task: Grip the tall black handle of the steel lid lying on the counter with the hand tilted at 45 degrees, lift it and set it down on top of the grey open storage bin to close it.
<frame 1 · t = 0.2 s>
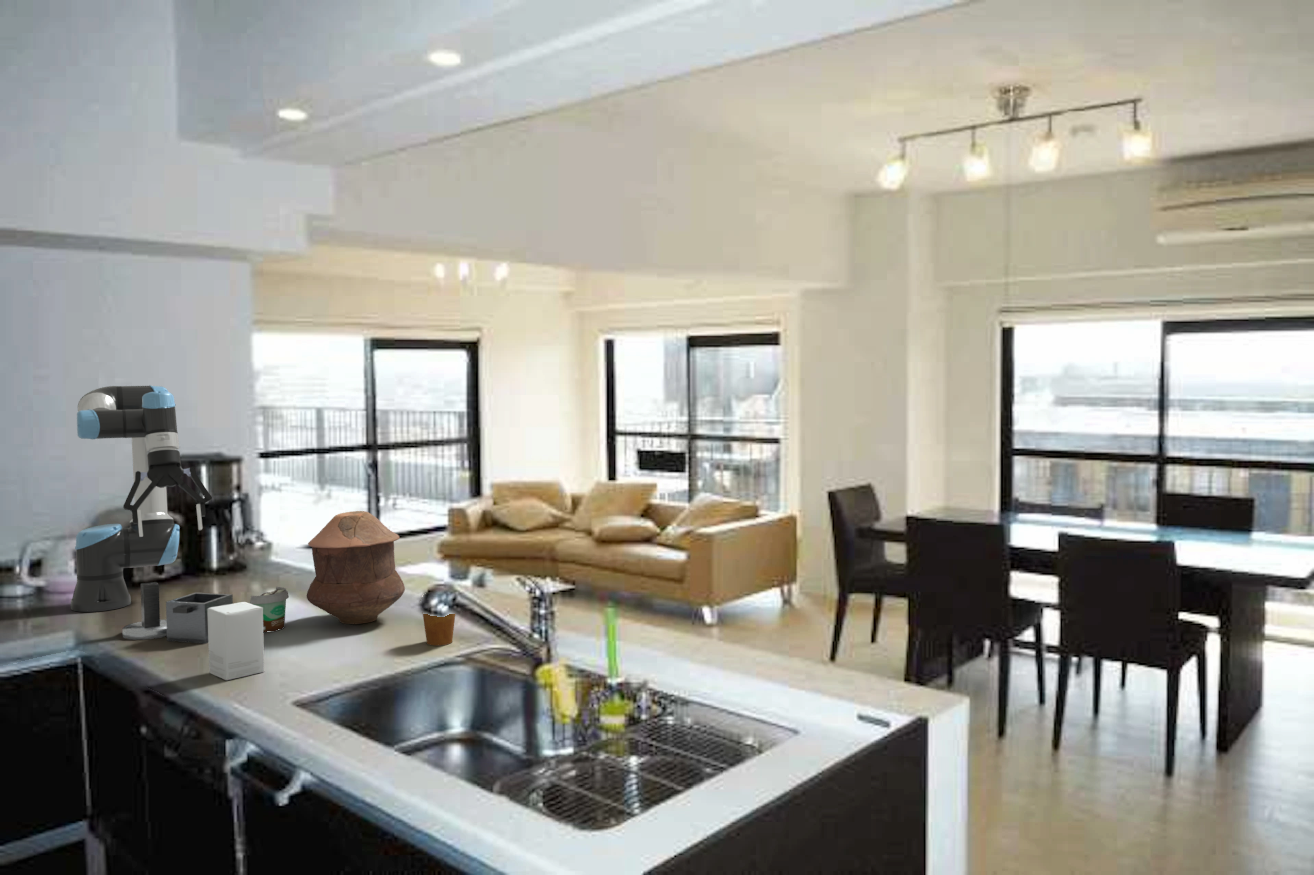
hand: (171, 533, 247), 27 cm above the worktop, tool pointing down, fingers open, 13 cm apart
disposable coffee cup: (439, 643, 244), on the worktop
food container: (275, 629, 257), on the worktop
grey open storage bin: (200, 636, 249), on the worktop
supplement box: (237, 673, 218), on the worktop
lid: (151, 633, 252), on the worktop
pottery vessel: (356, 621, 265), on the worktop
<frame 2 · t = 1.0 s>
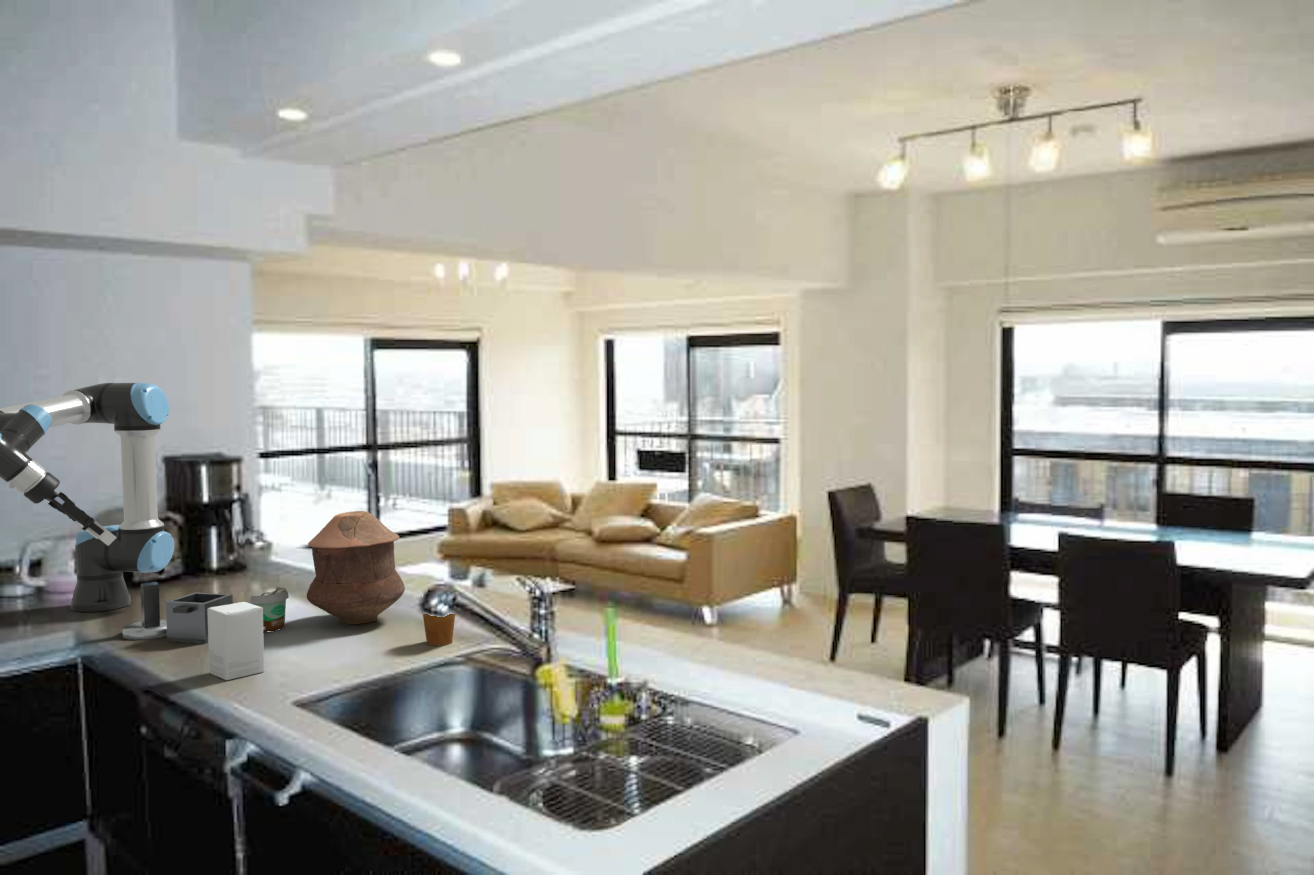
hand: (106, 538, 245), 26 cm above the worktop, tool tilted 45°, fingers open, 13 cm apart
nothing on the worktop moved.
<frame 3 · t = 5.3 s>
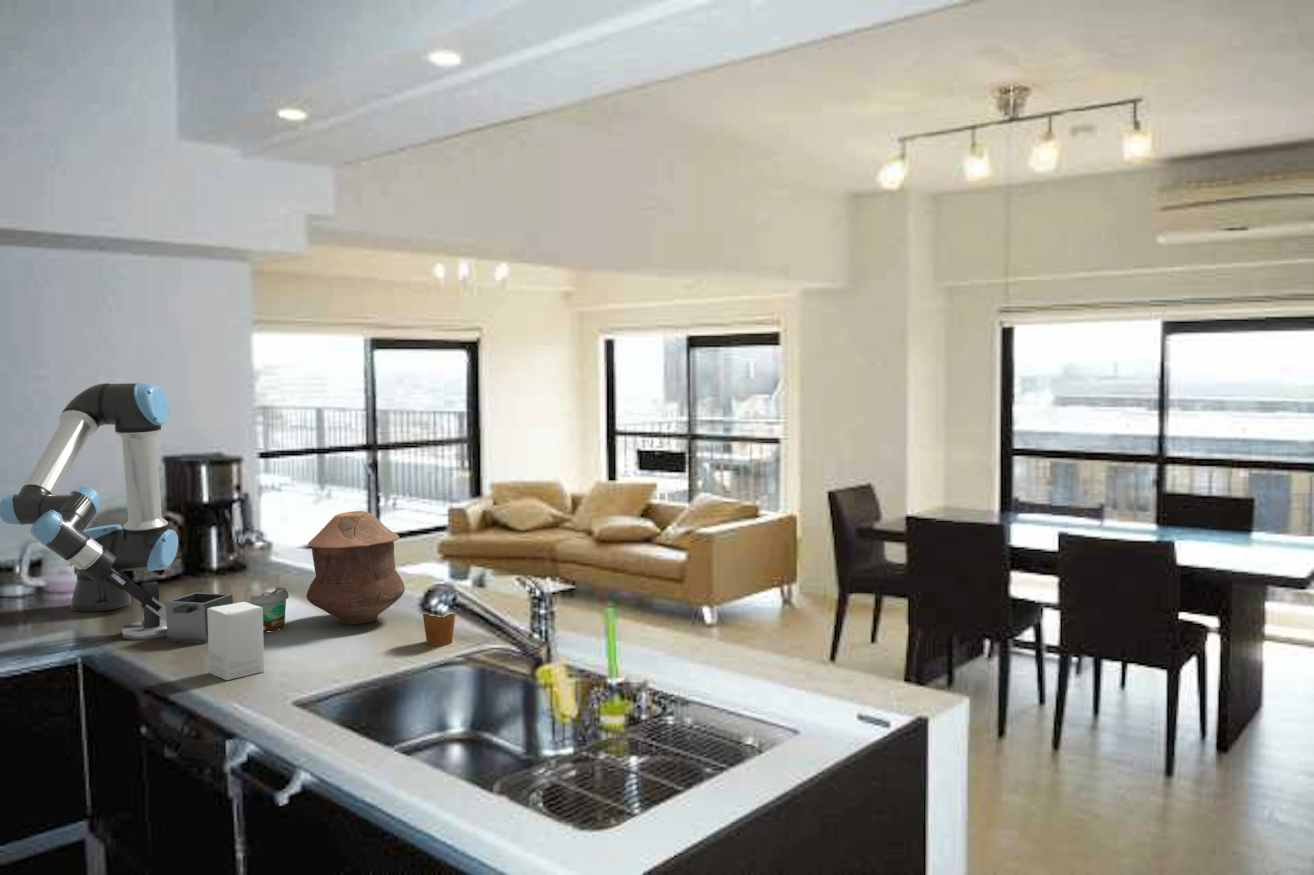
hand: (166, 614, 254), 4 cm above the worktop, tool tilted 45°, fingers closed on lid, 4 cm apart
lid: (151, 633, 252), on the worktop, touching gripper
everything else where it was.
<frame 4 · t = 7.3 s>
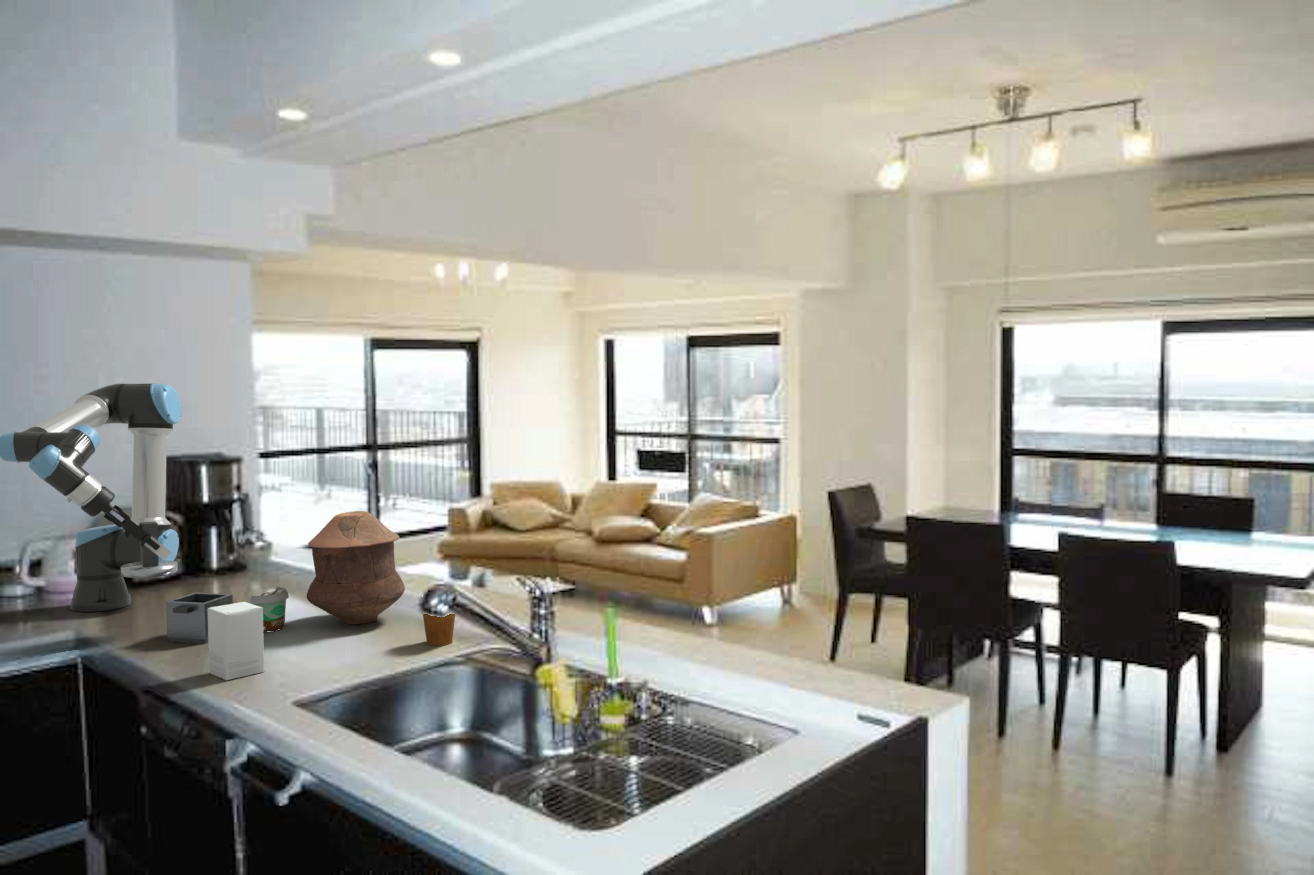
hand: (165, 554, 253), 20 cm above the worktop, tool tilted 45°, fingers closed on lid, 4 cm apart
lid: (149, 572, 251), point 16 cm above the worktop, touching gripper
everything else where it was.
when the fingers open (16 cm above the worktop, at t = 9.2 s): lid drops 1 cm, resting on grey open storage bin.
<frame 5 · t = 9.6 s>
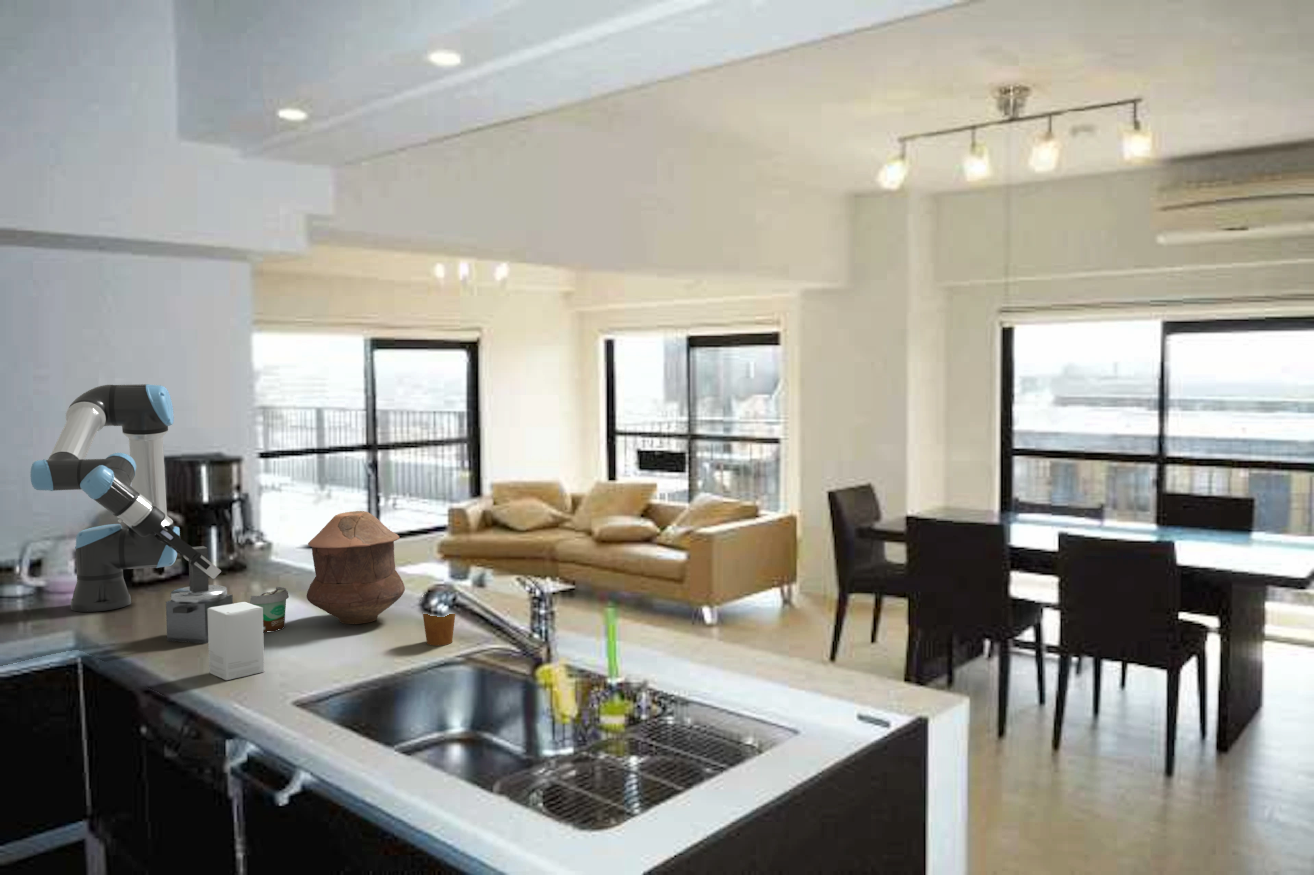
hand: (211, 571, 249), 16 cm above the worktop, tool tilted 45°, fingers open, 10 cm apart
lid: (199, 598, 248), point 10 cm above the worktop, touching grey open storage bin
everything else where it was.
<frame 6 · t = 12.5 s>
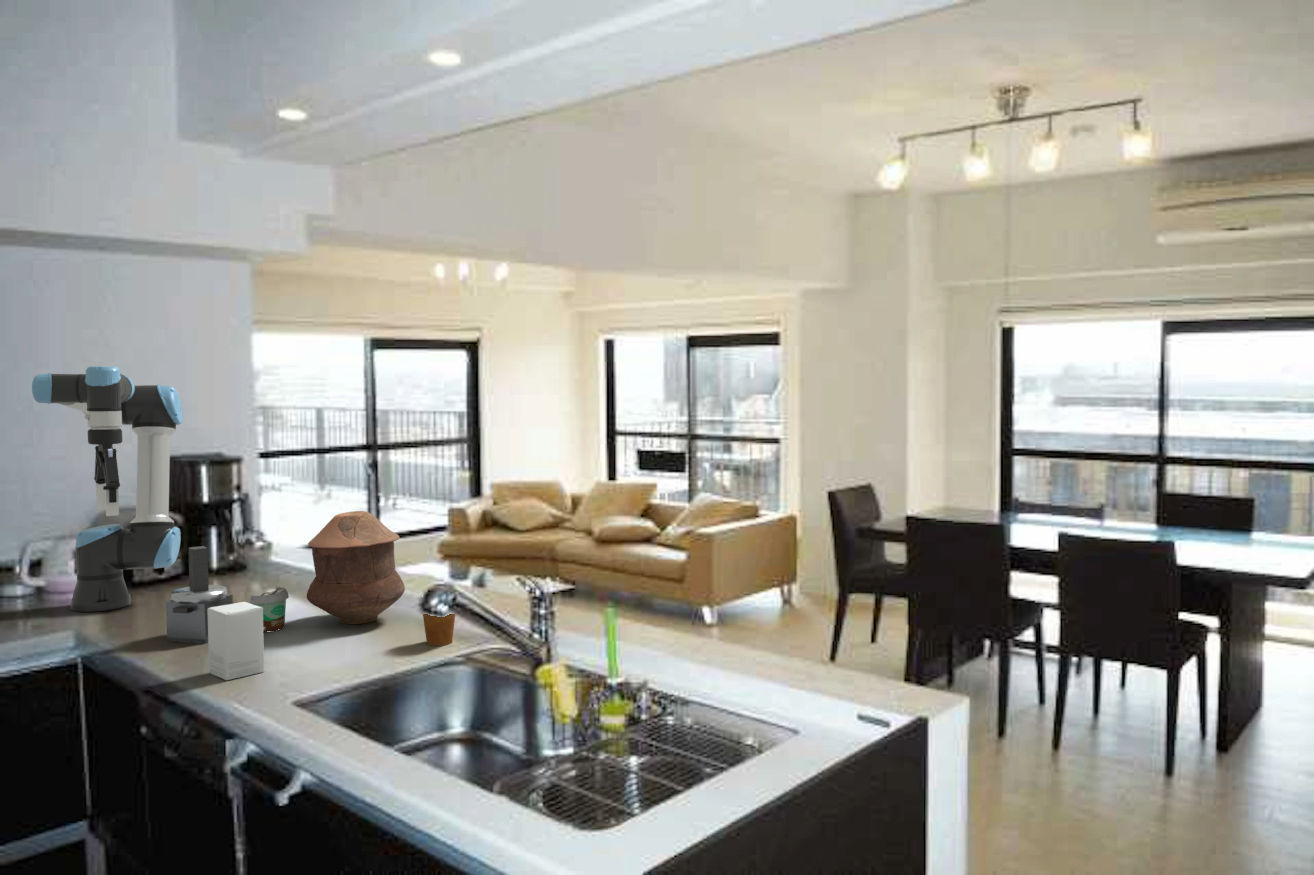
hand: (107, 512, 244), 32 cm above the worktop, tool pointing down, fingers open, 13 cm apart
nothing on the worktop moved.
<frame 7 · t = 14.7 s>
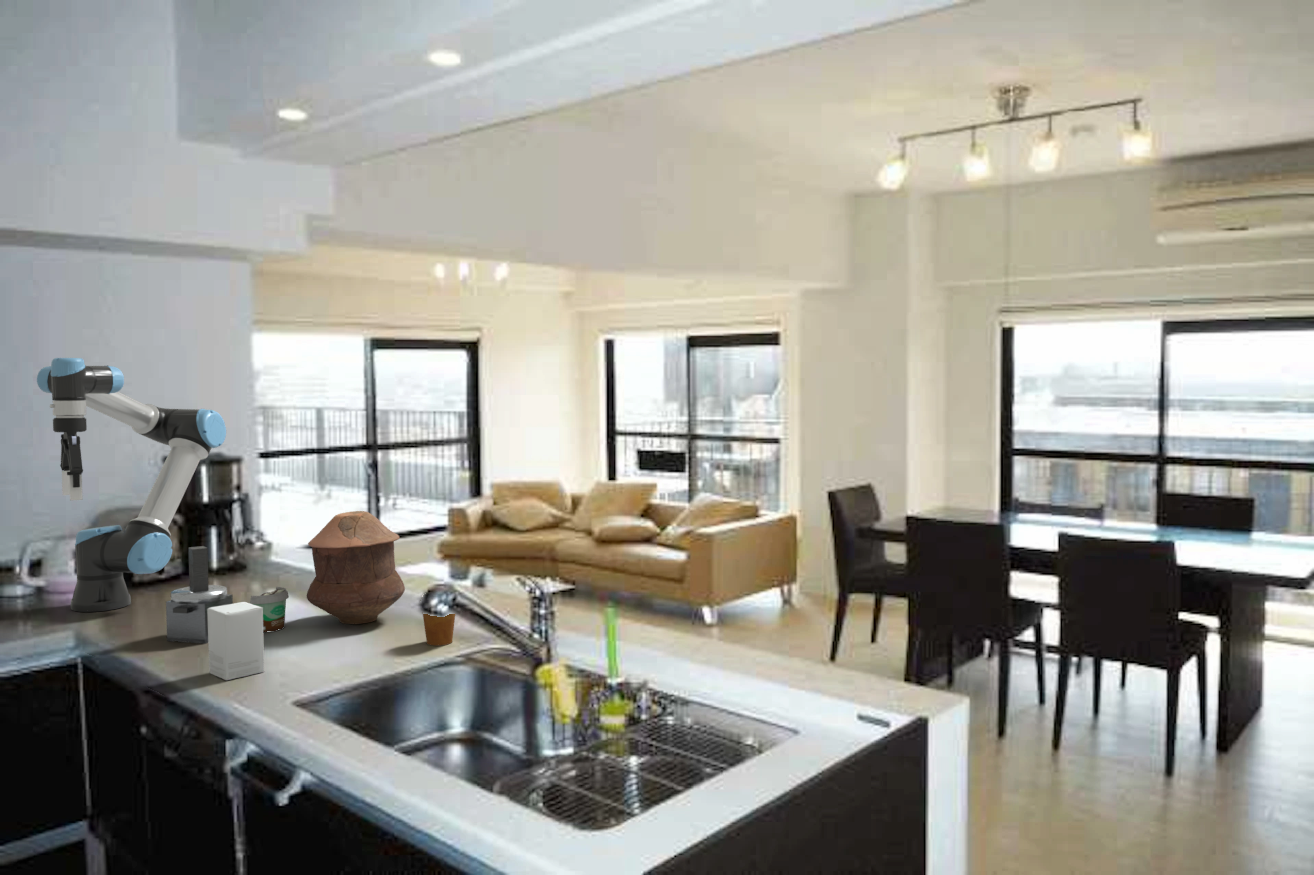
hand: (72, 497, 255), 35 cm above the worktop, tool pointing down, fingers open, 13 cm apart
nothing on the worktop moved.
at the end: lid inside the target area on the grey open storage bin (0.1 cm from its centre), point 10.0 cm above the grey open storage bin's base; lid tilted 0°; the gripper is holding nothing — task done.
